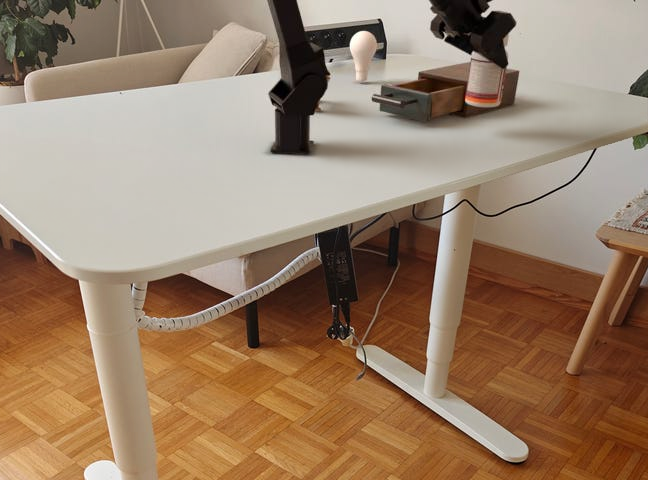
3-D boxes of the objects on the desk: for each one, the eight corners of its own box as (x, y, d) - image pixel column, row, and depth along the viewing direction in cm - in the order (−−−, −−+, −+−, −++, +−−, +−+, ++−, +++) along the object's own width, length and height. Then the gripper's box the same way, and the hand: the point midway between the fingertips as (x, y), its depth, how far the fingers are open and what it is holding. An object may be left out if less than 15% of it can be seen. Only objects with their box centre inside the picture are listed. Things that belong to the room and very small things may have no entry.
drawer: (407, 126, 123) (410, 98, 120) (361, 115, 130) (363, 88, 127) (475, 109, 134) (479, 83, 132) (429, 99, 141) (432, 74, 139)
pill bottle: (479, 98, 123) (489, 29, 117) (507, 105, 120) (519, 33, 113) (457, 103, 120) (466, 32, 114) (485, 109, 116) (496, 36, 110)
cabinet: (465, 117, 132) (470, 81, 129) (415, 106, 140) (418, 71, 136) (514, 104, 142) (519, 70, 138) (464, 94, 149) (468, 61, 146)
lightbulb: (375, 86, 156) (378, 33, 150) (348, 85, 156) (350, 32, 150) (373, 80, 161) (376, 29, 155) (347, 80, 161) (349, 28, 155)
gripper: (516, -49, 99) (564, 33, 108) (455, -54, 114) (502, 18, 122) (460, 13, 101) (511, 88, 110) (407, 0, 116) (456, 67, 125)
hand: (495, 63), depth 117 cm, fingers closed on pill bottle, 6 cm apart
